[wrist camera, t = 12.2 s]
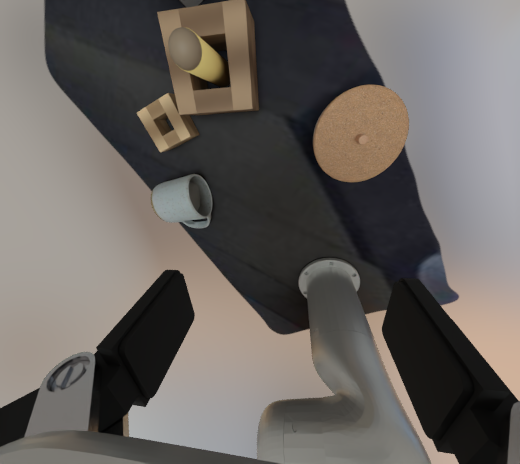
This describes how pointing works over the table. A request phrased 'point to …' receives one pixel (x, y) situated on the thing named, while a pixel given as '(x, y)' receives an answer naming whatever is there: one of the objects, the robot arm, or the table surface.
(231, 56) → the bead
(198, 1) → the coffee box
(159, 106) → the loose bead
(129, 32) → the table surface
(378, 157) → the lidded jar
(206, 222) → the ceramic mug
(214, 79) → the tan cylindrical rod
